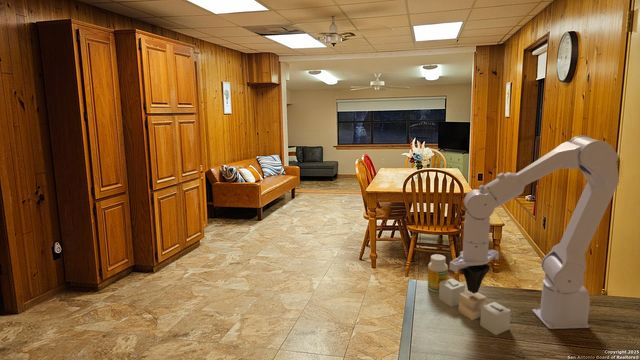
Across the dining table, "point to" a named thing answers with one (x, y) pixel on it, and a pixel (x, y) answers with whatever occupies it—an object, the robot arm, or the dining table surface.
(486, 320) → the marked block 1
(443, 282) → the marked block 7
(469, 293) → the plain block
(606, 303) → the dining table surface
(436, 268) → the supplement bottle
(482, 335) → the dining table surface
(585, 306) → the robot arm
